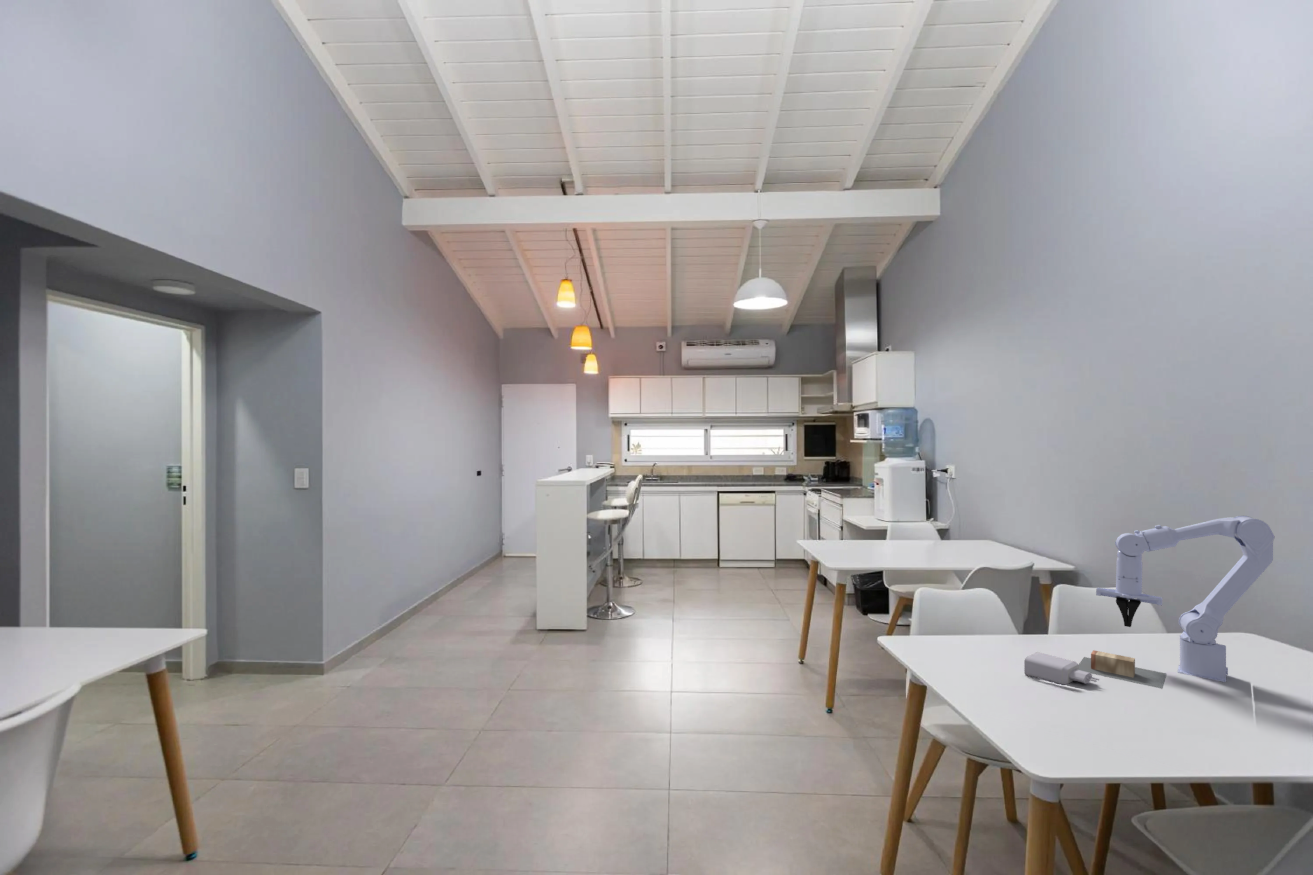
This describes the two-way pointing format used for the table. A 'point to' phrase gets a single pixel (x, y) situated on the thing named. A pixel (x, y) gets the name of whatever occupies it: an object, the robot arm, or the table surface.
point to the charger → (1055, 669)
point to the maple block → (1113, 663)
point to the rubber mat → (1140, 676)
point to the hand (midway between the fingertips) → (1127, 625)
